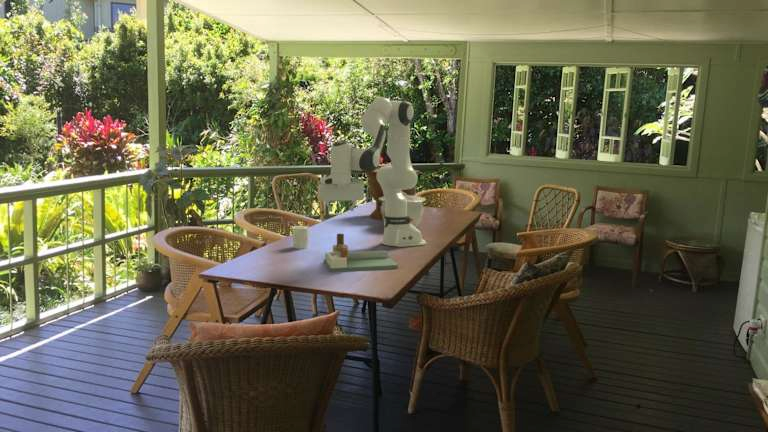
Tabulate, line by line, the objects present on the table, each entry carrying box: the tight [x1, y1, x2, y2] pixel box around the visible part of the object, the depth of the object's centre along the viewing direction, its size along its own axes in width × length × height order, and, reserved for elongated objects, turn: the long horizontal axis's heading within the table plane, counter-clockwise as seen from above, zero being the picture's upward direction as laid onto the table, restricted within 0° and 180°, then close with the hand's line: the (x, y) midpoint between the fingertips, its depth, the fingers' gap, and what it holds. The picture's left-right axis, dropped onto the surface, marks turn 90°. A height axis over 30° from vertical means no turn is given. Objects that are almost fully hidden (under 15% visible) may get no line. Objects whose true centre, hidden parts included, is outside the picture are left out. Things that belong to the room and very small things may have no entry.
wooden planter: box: [364, 168, 422, 221], centre depth 396 cm, size 34×35×29 cm
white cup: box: [291, 225, 310, 250], centre depth 305 cm, size 8×8×10 cm
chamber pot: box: [379, 192, 427, 228], centre depth 362 cm, size 28×28×21 cm
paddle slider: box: [332, 233, 349, 258], centre depth 269 cm, size 6×13×11 cm, turn 15°
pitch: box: [323, 251, 399, 273], centre depth 270 cm, size 29×17×6 cm, turn 105°
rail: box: [324, 250, 389, 261], centre depth 276 cm, size 28×2×3 cm, turn 105°
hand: (341, 210), depth 272 cm, fingers open, 8 cm apart
